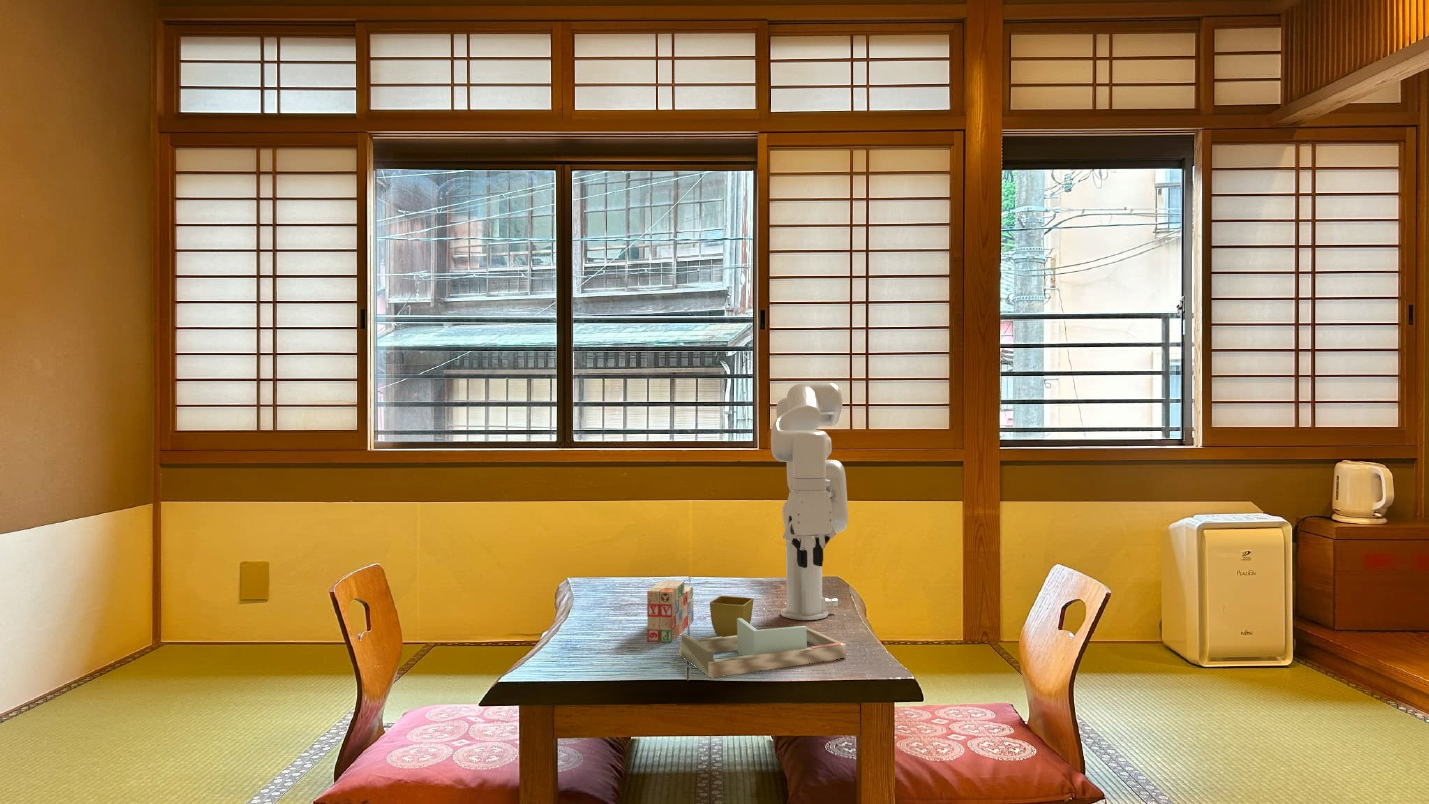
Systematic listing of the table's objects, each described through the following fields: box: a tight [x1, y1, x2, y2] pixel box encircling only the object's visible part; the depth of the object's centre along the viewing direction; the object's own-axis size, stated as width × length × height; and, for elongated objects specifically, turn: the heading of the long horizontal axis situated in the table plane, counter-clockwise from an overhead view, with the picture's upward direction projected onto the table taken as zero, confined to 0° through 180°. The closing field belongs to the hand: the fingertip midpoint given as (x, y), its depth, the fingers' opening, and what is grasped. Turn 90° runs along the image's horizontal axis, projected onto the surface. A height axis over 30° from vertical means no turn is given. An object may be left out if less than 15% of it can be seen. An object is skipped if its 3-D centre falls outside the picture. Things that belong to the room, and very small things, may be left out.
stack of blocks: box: [646, 580, 695, 643], centre depth 207 cm, size 21×6×12 cm, turn 168°
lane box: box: [679, 626, 847, 678], centre depth 183 cm, size 32×17×5 cm, turn 114°
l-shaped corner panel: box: [736, 618, 807, 656], centre depth 184 cm, size 12×12×8 cm
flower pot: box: [709, 595, 754, 637], centre depth 200 cm, size 9×9×9 cm
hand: (810, 565), depth 189 cm, fingers open, 3 cm apart
